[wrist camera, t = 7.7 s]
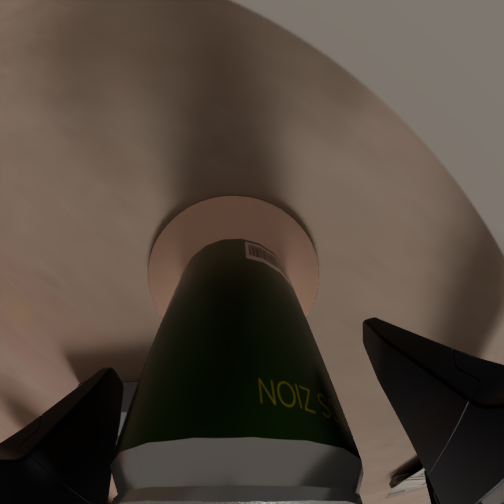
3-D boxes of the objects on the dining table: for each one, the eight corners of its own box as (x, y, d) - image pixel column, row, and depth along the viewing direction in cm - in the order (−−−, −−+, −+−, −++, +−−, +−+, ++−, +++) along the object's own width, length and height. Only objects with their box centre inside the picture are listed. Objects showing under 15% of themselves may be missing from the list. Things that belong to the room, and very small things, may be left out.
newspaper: (499, 437, 31) (506, 446, 28) (458, 473, 34) (464, 483, 31) (437, 435, 24) (448, 453, 21) (370, 485, 27) (376, 503, 24)
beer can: (206, 216, 13) (102, 452, 2) (305, 259, 14) (431, 478, 3) (170, 307, 15) (98, 523, 4) (259, 340, 16) (287, 552, 4)
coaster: (302, 177, 14) (304, 178, 13) (325, 330, 16) (326, 334, 16) (128, 220, 14) (125, 222, 13) (181, 359, 17) (180, 363, 16)
